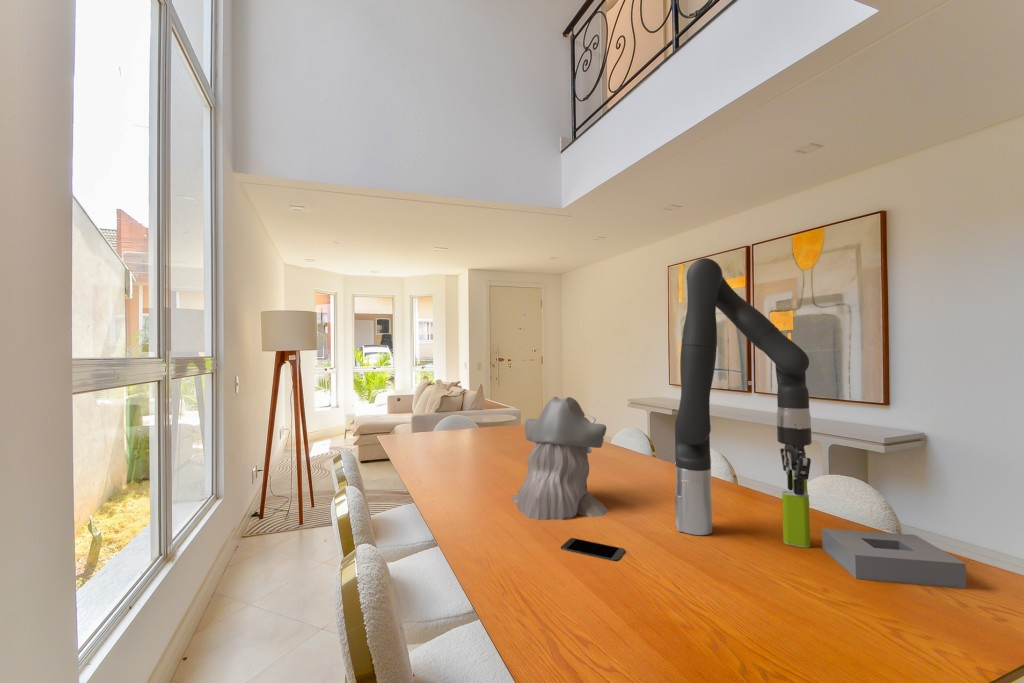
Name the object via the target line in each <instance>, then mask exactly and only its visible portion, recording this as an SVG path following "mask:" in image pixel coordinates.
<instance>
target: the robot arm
mask: <svg viewBox="0 0 1024 683" xmlns="http://www.w3.org/2000/svg"><path fill="white" fill-rule="evenodd" d="M685 277H686V288H687V289H686V290H687V291H686V292H687V294H686V295H687V305H686V306H687V307H686V308H687V309H686V315H685V320H684V325H683V329H682V335H681V336H682V337H681V338H682V339H681V345H680V346H681V347H680V358H679V359H680V360H679V361H680V362H679V366H680V367H679V368H680V369H679V372H680V374H679V375H680V384H681V385H680V387H681V388H680V389H681V390H680V391H681V392H680V400H679V407H678V412H677V416H676V417H675V421H674V443H675V445H674V447H675V450H674V451H675V452H674V454H675V456H674V458H675V491H674V507H675V508H674V510H675V512H674V513H675V514H674V516H675V518H674V521H675V522H674V523H675V527H676V529H677V531H678V532H680V533H685V534H689V535H696V536H706V535H710V534H712V533H713V517H712V516H713V510H712V509H713V504H712V502H713V501H712V458H711V444H710V443H711V441H710V440H711V438H710V437H711V436H710V435H711V434H710V433H711V430H712V428H711V419H710V418H711V415H710V413H711V412H710V403H711V402H710V398H711V397H710V396H711V390H712V384H713V380H714V376H715V375H714V374H715V368H716V360H717V348H718V325H717V313H716V311H717V309H718V310H720V312H722V313H723V314H724V315H725V317H727V319H728V320H729V321H731V323H732V324H733V325H734V326H735V327H736V328H737V329H738V331H739V332H740V333H742V334H743V336H745V337H746V338H747V339H748V340H749V341H750V342H751V344H752V345H754V347H756V348H758V349H759V350H760V351H762V352H763V353H764V354H765V355H766V356H767V357H768V358H769V359H770V360H771V361H772V362H773V363H774V364H775V376H776V383H777V394H776V395H777V396H776V397H777V398H776V399H777V400H776V401H777V411H776V434H777V436H776V437H777V442H778V443H780V444H781V445H782V444H783V445H784V448H780V449H779V451H780V457H781V462H782V470H783V471H784V472H785V474H786V475H787V478H786V479H787V490H788V491H791V492H794V494H796V495H804V480H805V479H807V480H808V479H809V476H810V470H811V462H812V460H811V458H810V457H807V453H806V450H805V447H806V446H811V445H812V420H811V419H812V417H811V412H810V394H809V389H808V387H807V382H806V380H807V378H806V377H807V376H806V371H807V370H808V369H809V366H810V358H809V355H808V354H807V353H806V352H805V351H804V350H803V349H802V348H801V347H800V346H798V345H797V343H795V342H793V340H791V339H790V338H789V337H787V336H786V335H785V334H783V333H782V332H781V330H780V329H779V328H778V327H777V326H776V325H775V324H774V323H773V322H771V321H770V319H769V318H767V317H766V316H765V315H764V314H763V313H762V312H760V311H759V310H758V309H756V308H755V307H754V306H753V305H752V304H750V303H749V302H748V301H746V300H745V299H743V297H741V296H740V295H739V294H738V293H737V292H736V291H735V290H734V289H733V288H732V287H731V285H730V284H729V283H728V282H727V280H726V279H725V278H724V275H723V270H722V268H721V266H720V265H719V263H718V262H717V261H715V260H713V259H712V258H708V257H707V258H705V257H704V258H699V259H697V260H695V261H694V262H693V263H692V264H691V265H690V266H689V267H688V269H687V271H686V276H685ZM796 466H797V467H796ZM800 472H801V474H800ZM792 473H793V478H792Z"/></svg>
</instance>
